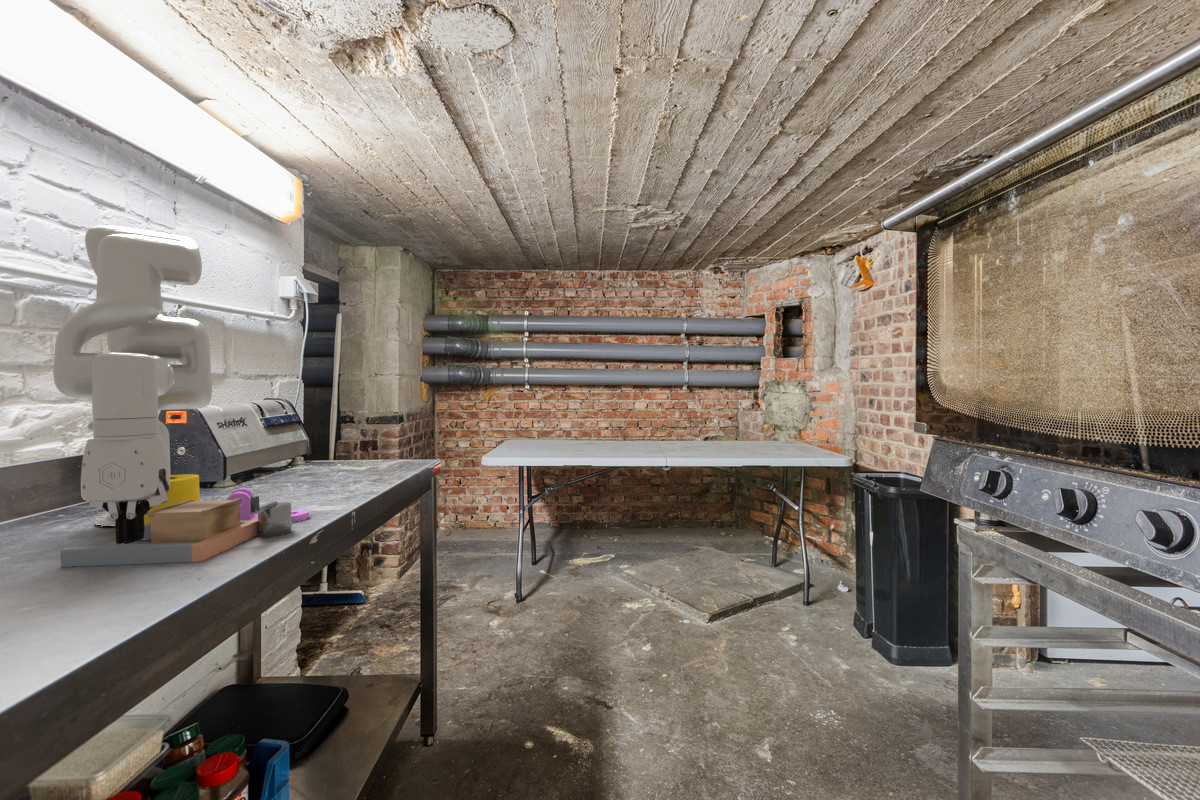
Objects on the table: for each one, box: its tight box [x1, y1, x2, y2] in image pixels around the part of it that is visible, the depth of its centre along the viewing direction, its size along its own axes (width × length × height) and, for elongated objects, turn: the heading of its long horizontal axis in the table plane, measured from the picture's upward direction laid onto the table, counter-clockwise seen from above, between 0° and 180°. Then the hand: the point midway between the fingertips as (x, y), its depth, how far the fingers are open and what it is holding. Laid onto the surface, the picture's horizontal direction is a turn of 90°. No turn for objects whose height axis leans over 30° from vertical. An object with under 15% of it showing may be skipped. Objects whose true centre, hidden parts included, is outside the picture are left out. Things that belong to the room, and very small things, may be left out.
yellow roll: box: [144, 473, 201, 524], centre depth 89 cm, size 10×10×9 cm
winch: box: [250, 495, 293, 538], centre depth 83 cm, size 9×5×8 cm, turn 5°
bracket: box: [226, 487, 310, 523], centre depth 93 cm, size 13×6×7 cm, turn 121°
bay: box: [59, 520, 258, 568], centre depth 77 cm, size 14×20×2 cm
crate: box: [148, 498, 242, 544], centre depth 78 cm, size 8×8×7 cm
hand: (130, 541), depth 77 cm, fingers closed
